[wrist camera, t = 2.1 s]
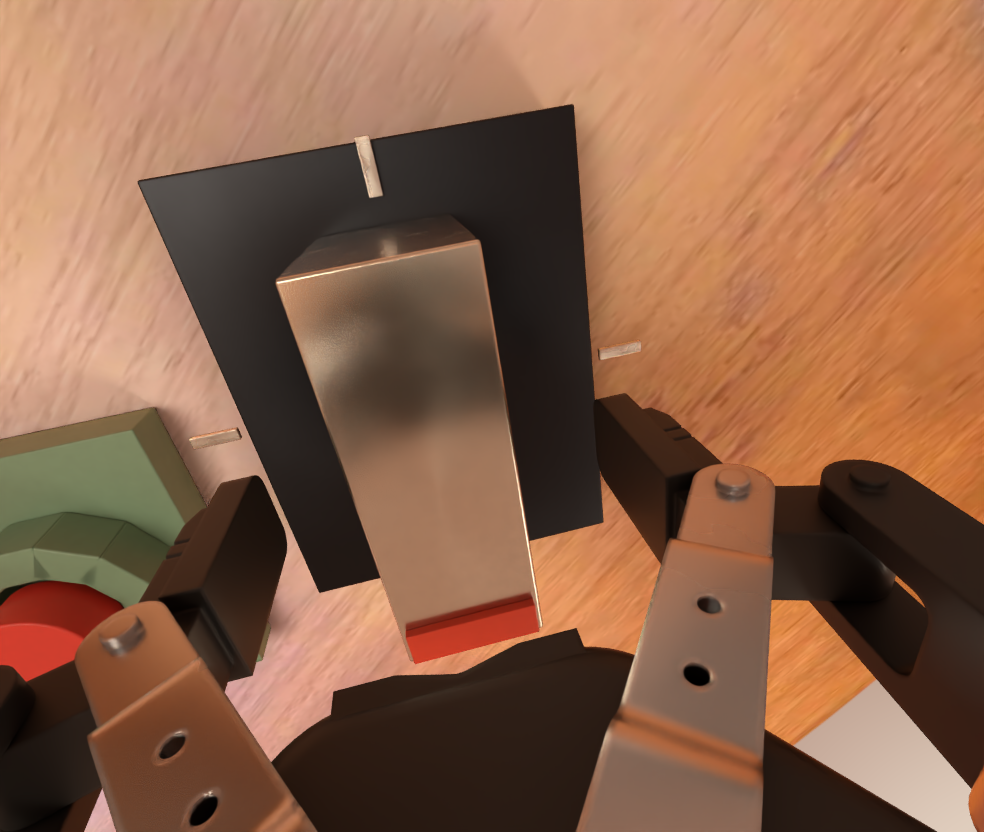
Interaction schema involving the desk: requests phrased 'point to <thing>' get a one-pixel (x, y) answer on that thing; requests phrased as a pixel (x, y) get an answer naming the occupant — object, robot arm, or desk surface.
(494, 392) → the silver metal block
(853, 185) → the desk surface
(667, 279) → the desk surface
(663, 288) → the desk surface
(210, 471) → the desk surface
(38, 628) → the button
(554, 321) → the black flat square plate
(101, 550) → the green rectangular block
